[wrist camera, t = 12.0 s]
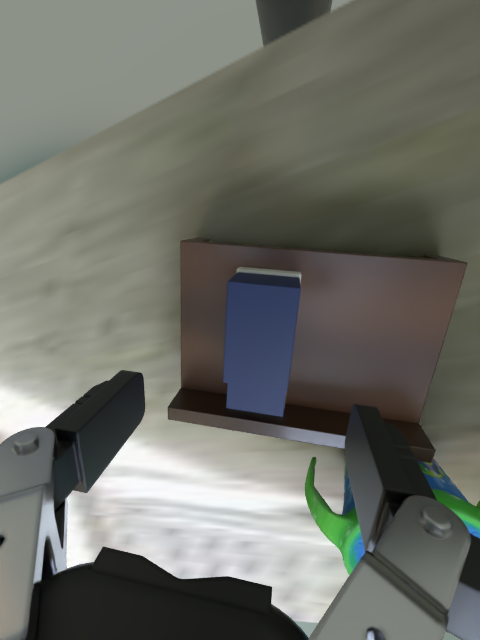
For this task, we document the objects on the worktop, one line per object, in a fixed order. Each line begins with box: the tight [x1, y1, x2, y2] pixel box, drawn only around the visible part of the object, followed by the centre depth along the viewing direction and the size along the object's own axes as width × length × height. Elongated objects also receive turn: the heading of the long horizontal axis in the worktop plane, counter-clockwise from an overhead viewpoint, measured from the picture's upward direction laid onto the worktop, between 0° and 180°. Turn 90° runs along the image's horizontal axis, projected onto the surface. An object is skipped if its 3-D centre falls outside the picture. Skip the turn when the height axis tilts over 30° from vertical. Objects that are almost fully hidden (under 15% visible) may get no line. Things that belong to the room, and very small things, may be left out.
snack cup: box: [305, 457, 480, 575], centre depth 25 cm, size 16×10×10 cm
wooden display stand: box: [168, 238, 467, 463], centre depth 24 cm, size 14×20×7 cm
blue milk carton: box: [223, 267, 302, 417], centre depth 22 cm, size 11×5×5 cm, turn 176°
